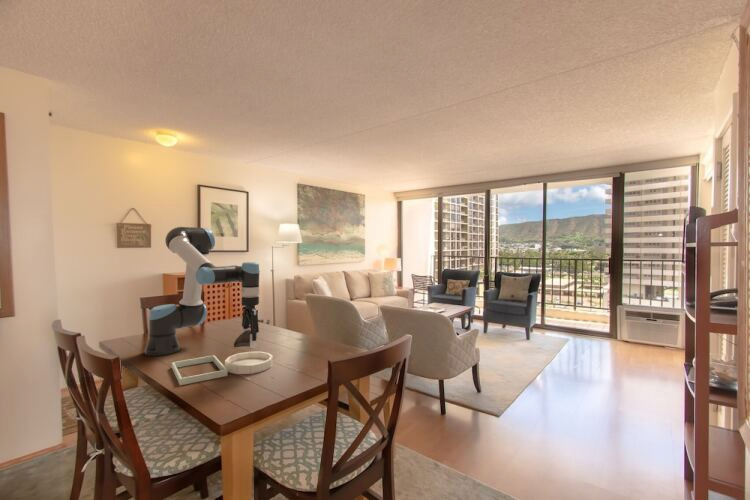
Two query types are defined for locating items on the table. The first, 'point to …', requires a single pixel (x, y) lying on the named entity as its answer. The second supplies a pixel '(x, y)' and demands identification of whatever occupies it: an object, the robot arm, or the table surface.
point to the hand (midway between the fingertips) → (249, 345)
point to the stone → (243, 339)
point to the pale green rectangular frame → (202, 376)
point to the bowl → (248, 362)
